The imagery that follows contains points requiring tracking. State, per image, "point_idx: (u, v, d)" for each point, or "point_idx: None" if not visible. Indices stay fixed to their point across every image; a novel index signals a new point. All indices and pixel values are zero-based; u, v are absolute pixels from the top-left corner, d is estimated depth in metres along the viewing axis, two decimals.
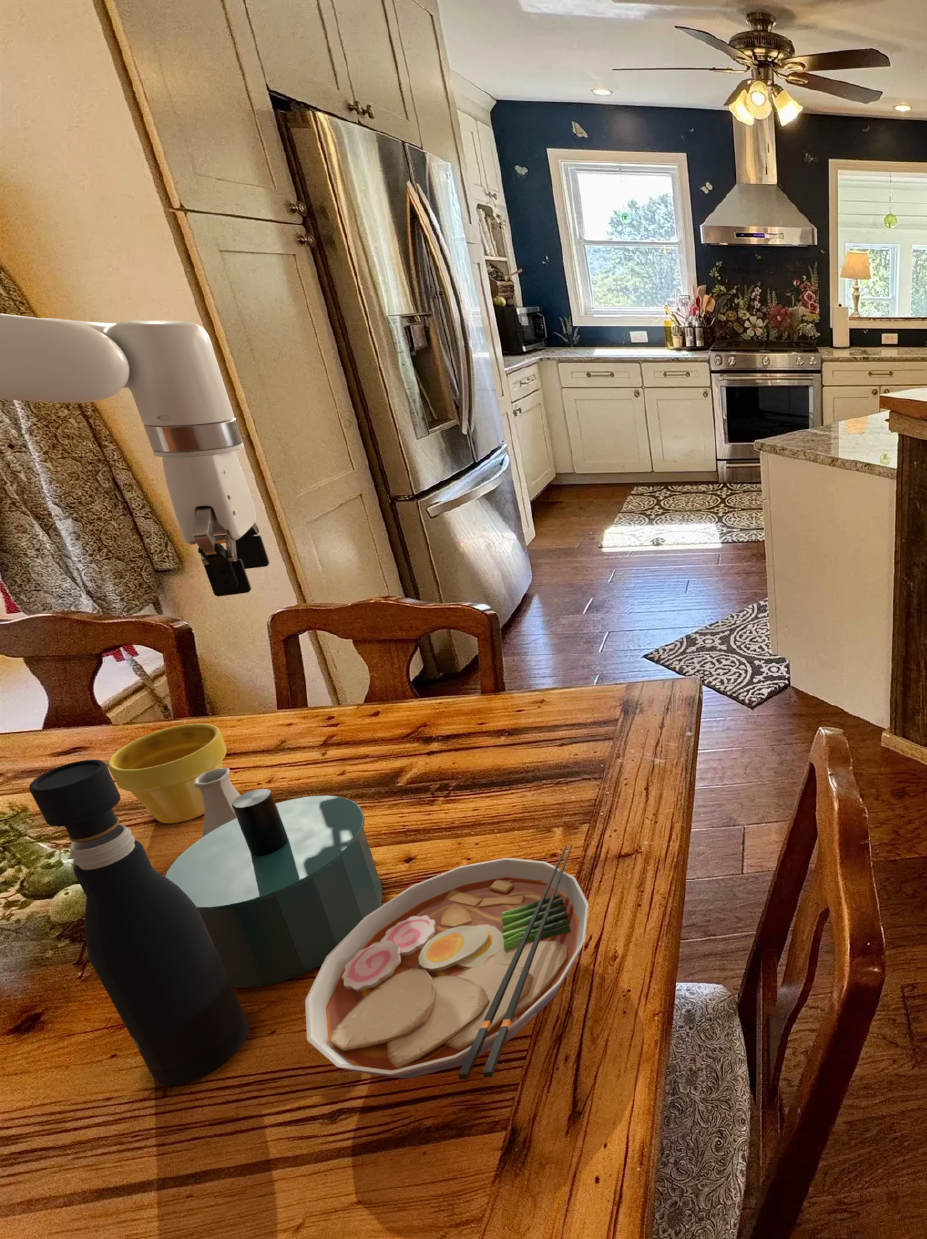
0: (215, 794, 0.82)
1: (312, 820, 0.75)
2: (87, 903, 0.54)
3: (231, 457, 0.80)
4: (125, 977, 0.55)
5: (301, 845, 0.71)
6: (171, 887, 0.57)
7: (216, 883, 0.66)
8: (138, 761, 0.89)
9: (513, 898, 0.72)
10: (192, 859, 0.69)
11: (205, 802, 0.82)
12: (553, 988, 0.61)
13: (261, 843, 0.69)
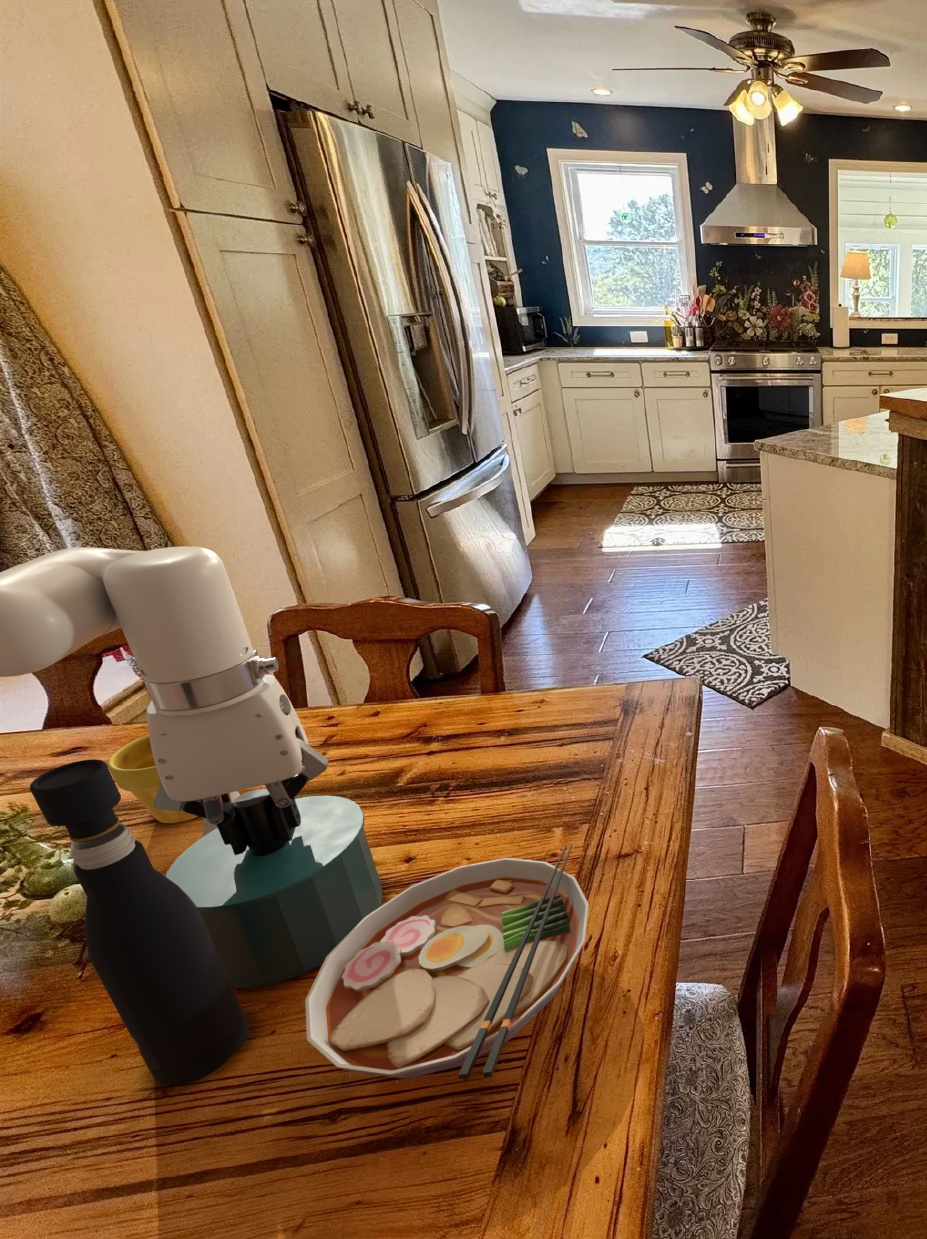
0: None
1: (312, 820, 0.75)
2: (87, 903, 0.54)
3: (203, 716, 0.63)
4: (125, 977, 0.55)
5: (301, 845, 0.71)
6: (171, 887, 0.57)
7: (216, 883, 0.66)
8: (138, 761, 0.89)
9: (513, 898, 0.72)
10: (192, 859, 0.69)
11: None
12: (553, 988, 0.61)
13: (261, 843, 0.69)
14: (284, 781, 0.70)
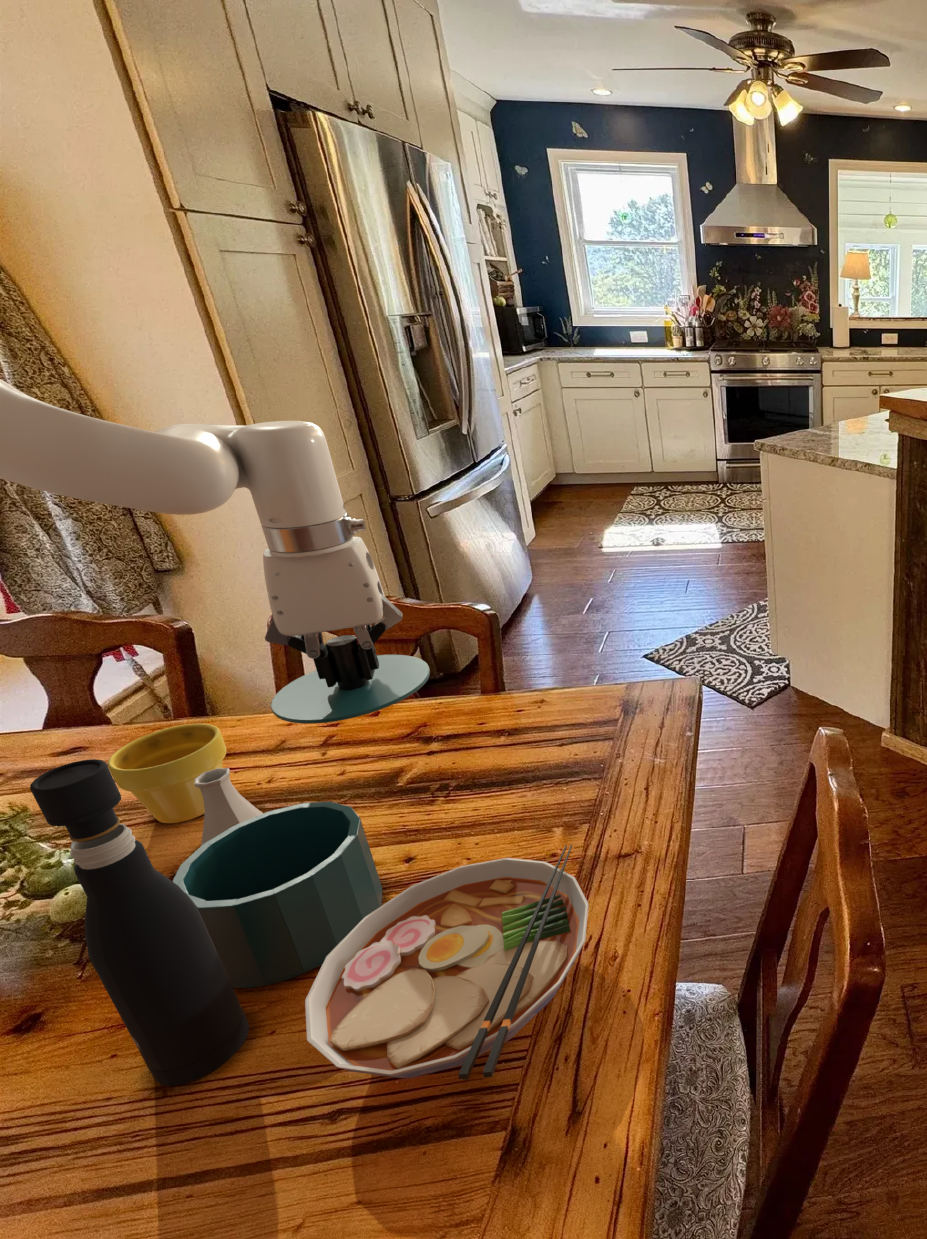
0: (215, 794, 0.82)
1: (386, 669, 0.88)
2: (87, 903, 0.54)
3: (308, 561, 0.77)
4: (126, 977, 0.55)
5: (380, 684, 0.85)
6: (171, 887, 0.57)
7: (314, 706, 0.80)
8: (138, 761, 0.89)
9: (513, 898, 0.72)
10: (291, 692, 0.83)
11: (205, 802, 0.82)
12: (553, 988, 0.61)
13: (349, 679, 0.83)
14: None
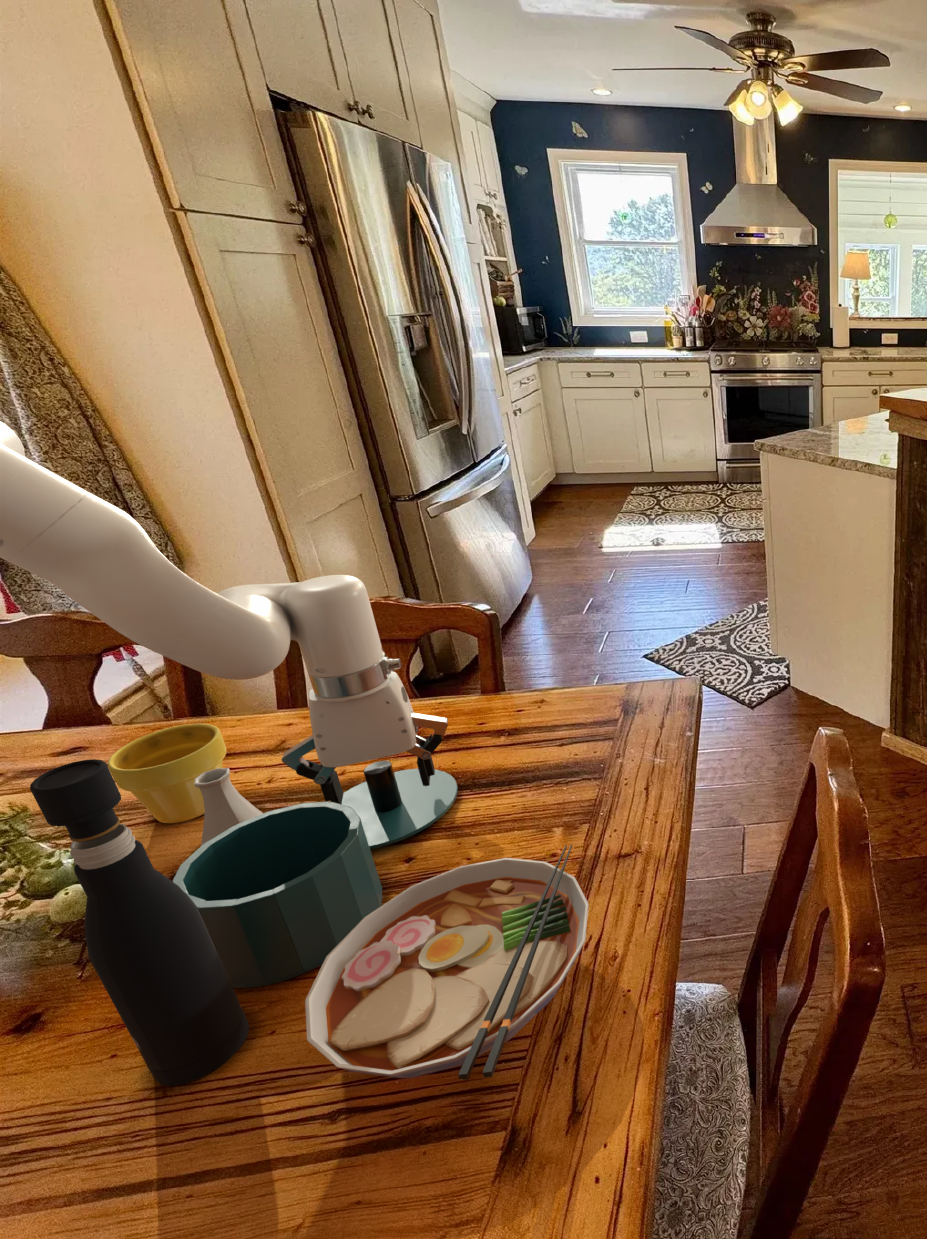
0: (215, 794, 0.82)
1: (417, 786, 0.95)
2: (87, 903, 0.54)
3: (349, 703, 0.83)
4: (126, 977, 0.55)
5: (412, 805, 0.92)
6: (171, 887, 0.57)
7: None
8: (138, 761, 0.89)
9: (513, 898, 0.72)
10: None
11: (205, 802, 0.82)
12: (553, 988, 0.61)
13: (384, 802, 0.90)
14: (424, 740, 0.92)
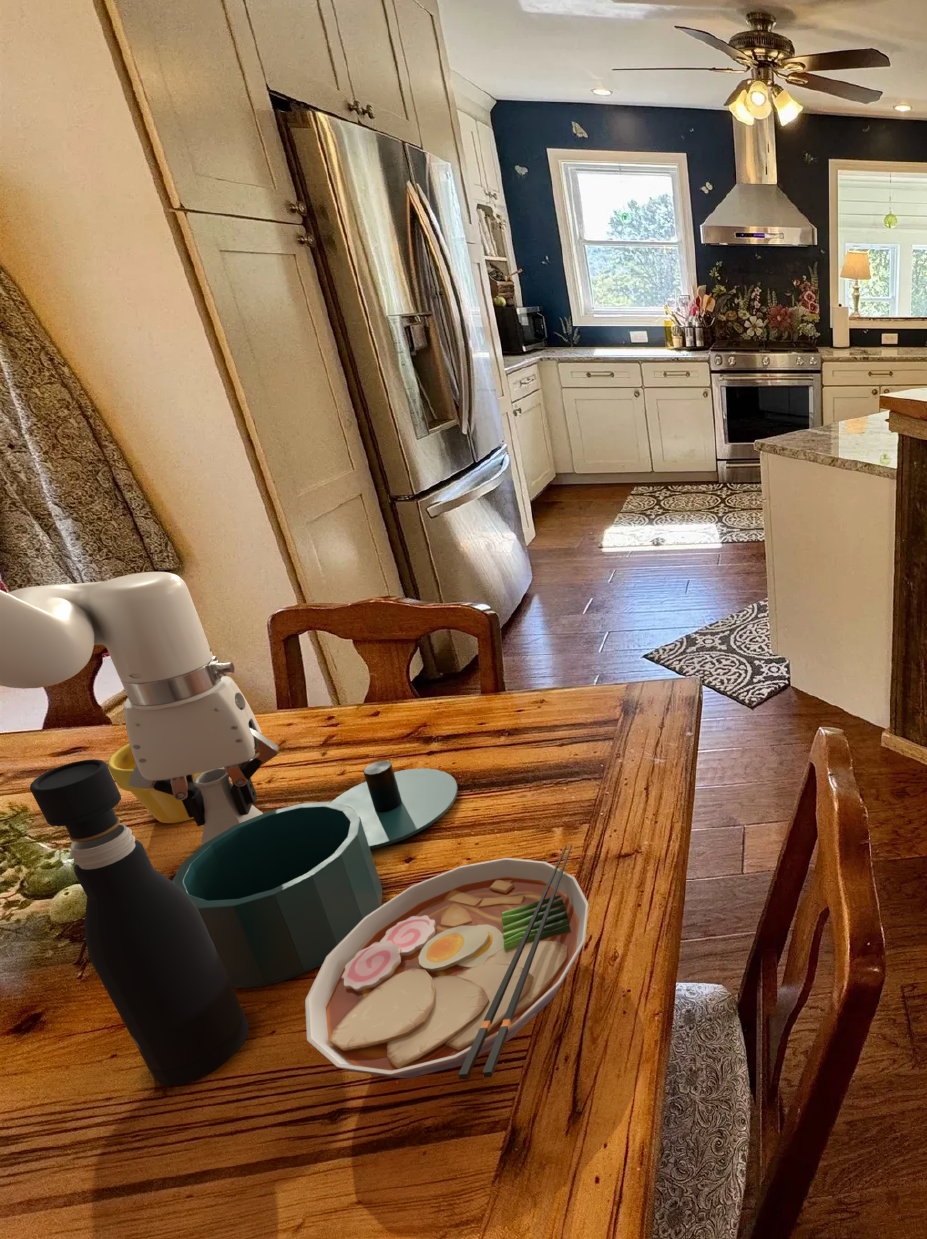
0: (215, 794, 0.82)
1: (417, 786, 0.95)
2: (87, 903, 0.54)
3: (170, 710, 0.77)
4: (126, 977, 0.55)
5: (412, 805, 0.92)
6: (171, 887, 0.57)
7: None
8: None
9: (513, 898, 0.72)
10: None
11: (205, 802, 0.82)
12: (553, 988, 0.61)
13: (384, 802, 0.90)
14: (242, 764, 0.84)
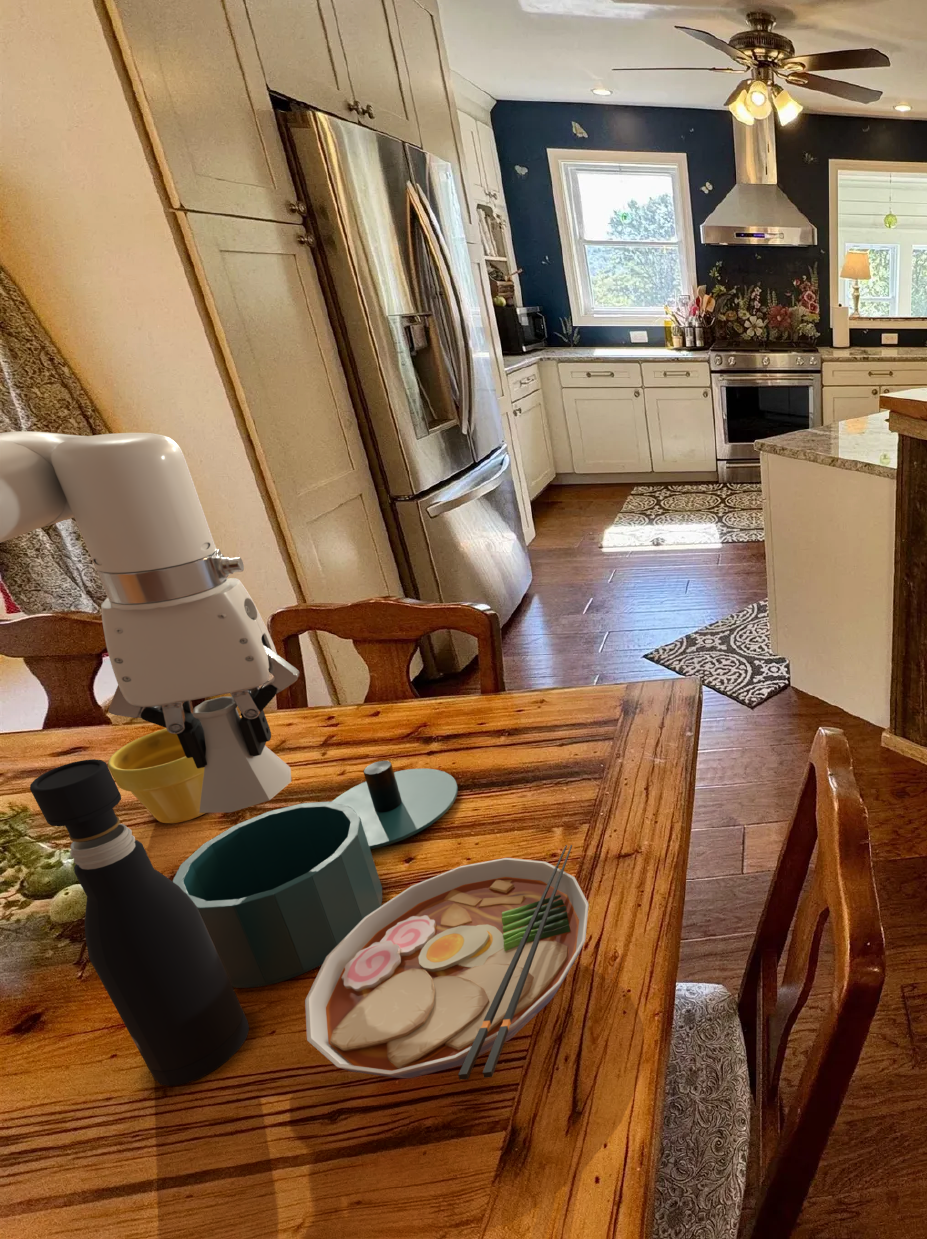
0: (219, 728, 0.65)
1: (417, 786, 0.95)
2: (87, 903, 0.54)
3: (161, 614, 0.59)
4: (126, 977, 0.55)
5: (412, 805, 0.92)
6: (171, 887, 0.57)
7: None
8: (138, 761, 0.89)
9: (513, 898, 0.72)
10: None
11: (207, 738, 0.65)
12: (553, 988, 0.61)
13: (384, 802, 0.90)
14: (253, 693, 0.67)
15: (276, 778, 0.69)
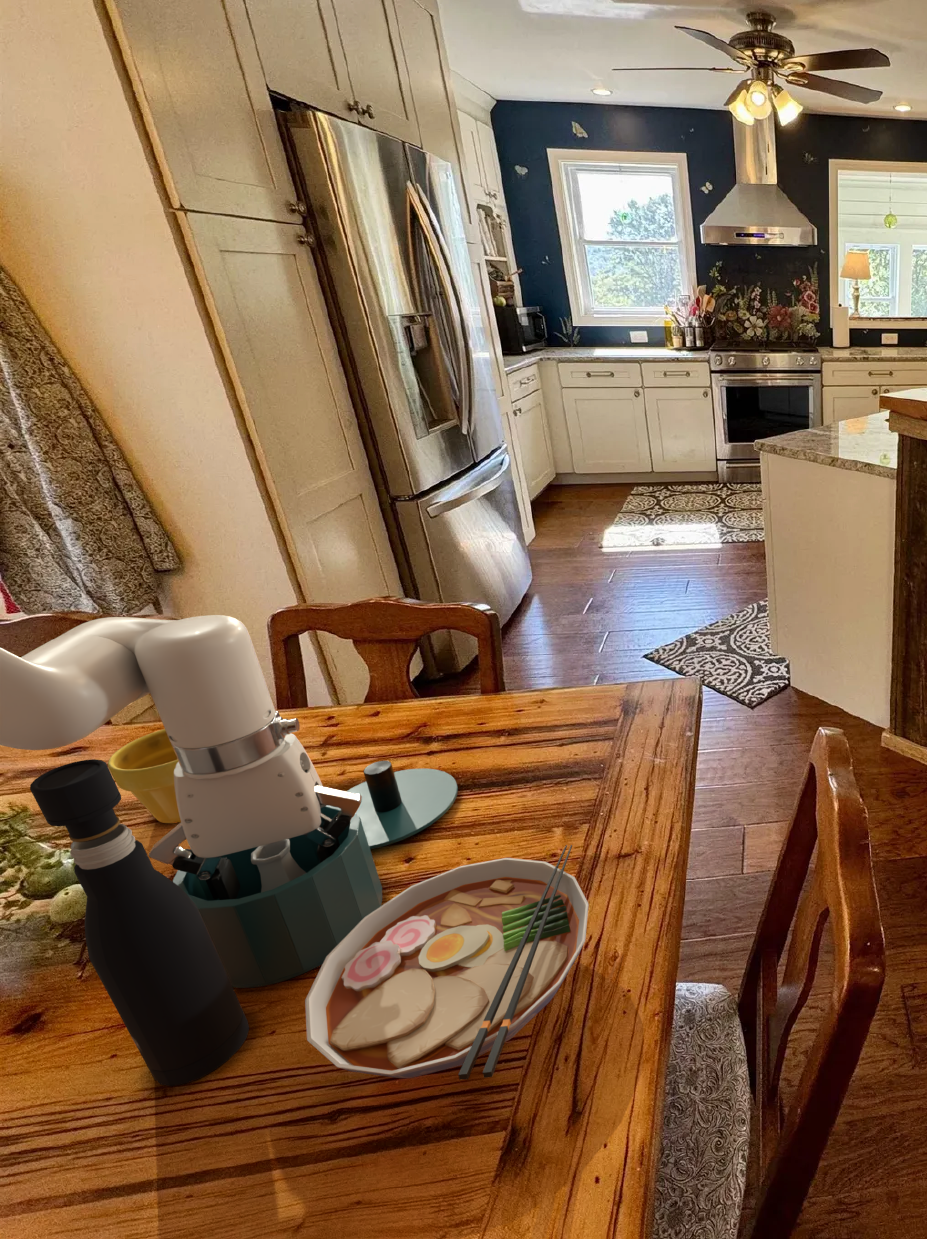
0: (274, 871, 0.71)
1: (417, 786, 0.95)
2: (87, 903, 0.54)
3: (227, 778, 0.65)
4: (126, 977, 0.55)
5: (412, 805, 0.92)
6: (171, 887, 0.57)
7: None
8: (138, 761, 0.89)
9: (513, 898, 0.72)
10: None
11: (263, 880, 0.71)
12: (553, 988, 0.61)
13: (384, 802, 0.90)
14: (328, 821, 0.74)
15: None
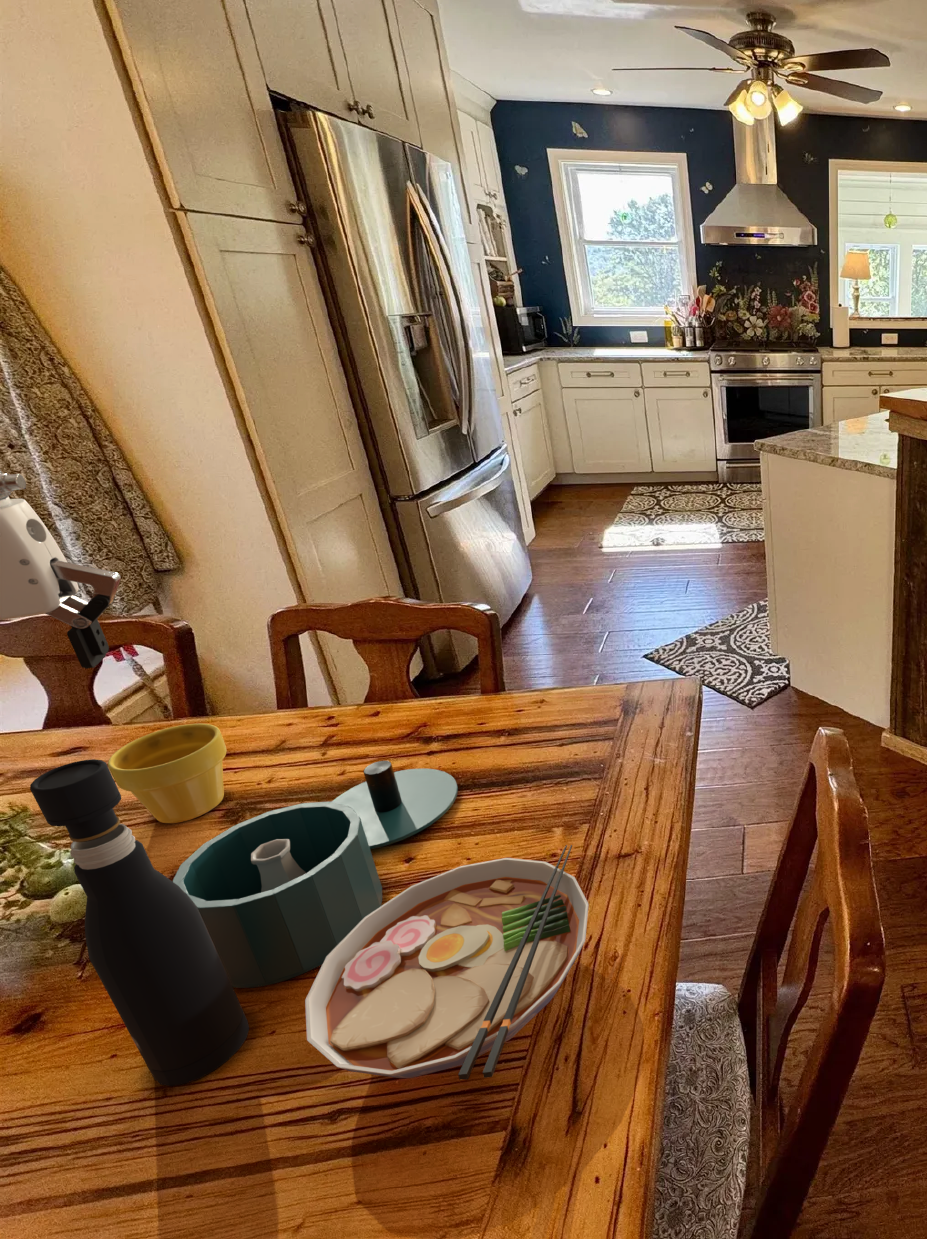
0: (274, 871, 0.71)
1: (417, 786, 0.95)
2: (87, 903, 0.54)
3: None
4: (126, 977, 0.55)
5: (412, 805, 0.92)
6: (171, 887, 0.57)
7: None
8: (138, 761, 0.89)
9: (513, 898, 0.72)
10: None
11: (263, 880, 0.71)
12: (553, 988, 0.61)
13: (384, 802, 0.90)
14: (86, 603, 0.65)
15: None
